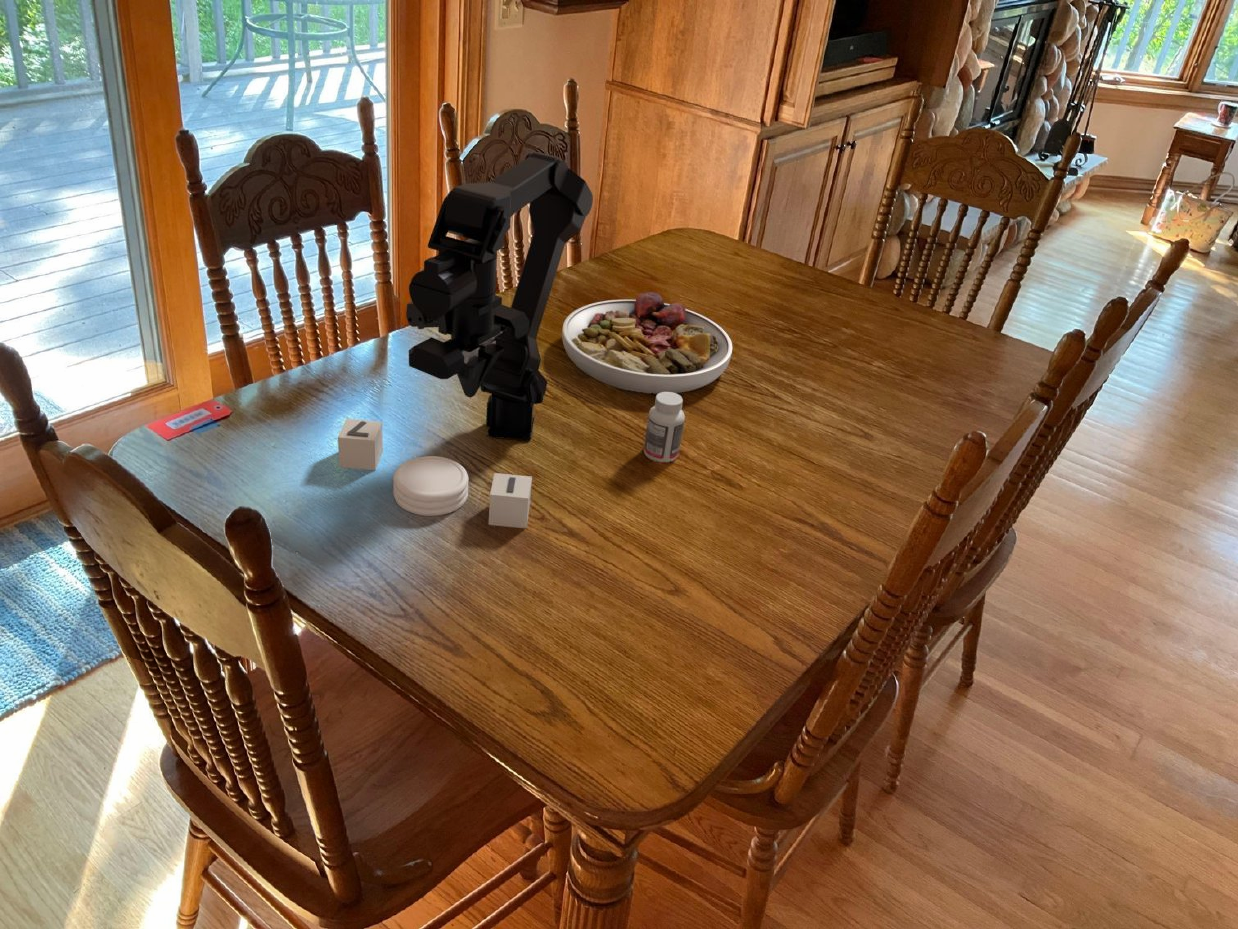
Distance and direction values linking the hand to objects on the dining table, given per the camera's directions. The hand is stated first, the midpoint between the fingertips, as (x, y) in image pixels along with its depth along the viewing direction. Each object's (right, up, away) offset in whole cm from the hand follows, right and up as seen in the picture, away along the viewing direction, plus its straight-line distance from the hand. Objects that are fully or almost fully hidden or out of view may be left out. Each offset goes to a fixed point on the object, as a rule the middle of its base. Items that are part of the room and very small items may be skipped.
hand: (469, 395), depth 132 cm
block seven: (-16, -9, +6) cm, 19 cm away
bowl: (+25, +9, +42) cm, 49 cm away
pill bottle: (+27, -8, +16) cm, 32 cm away
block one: (+6, -16, -1) cm, 17 cm away
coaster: (-5, -14, +1) cm, 15 cm away
